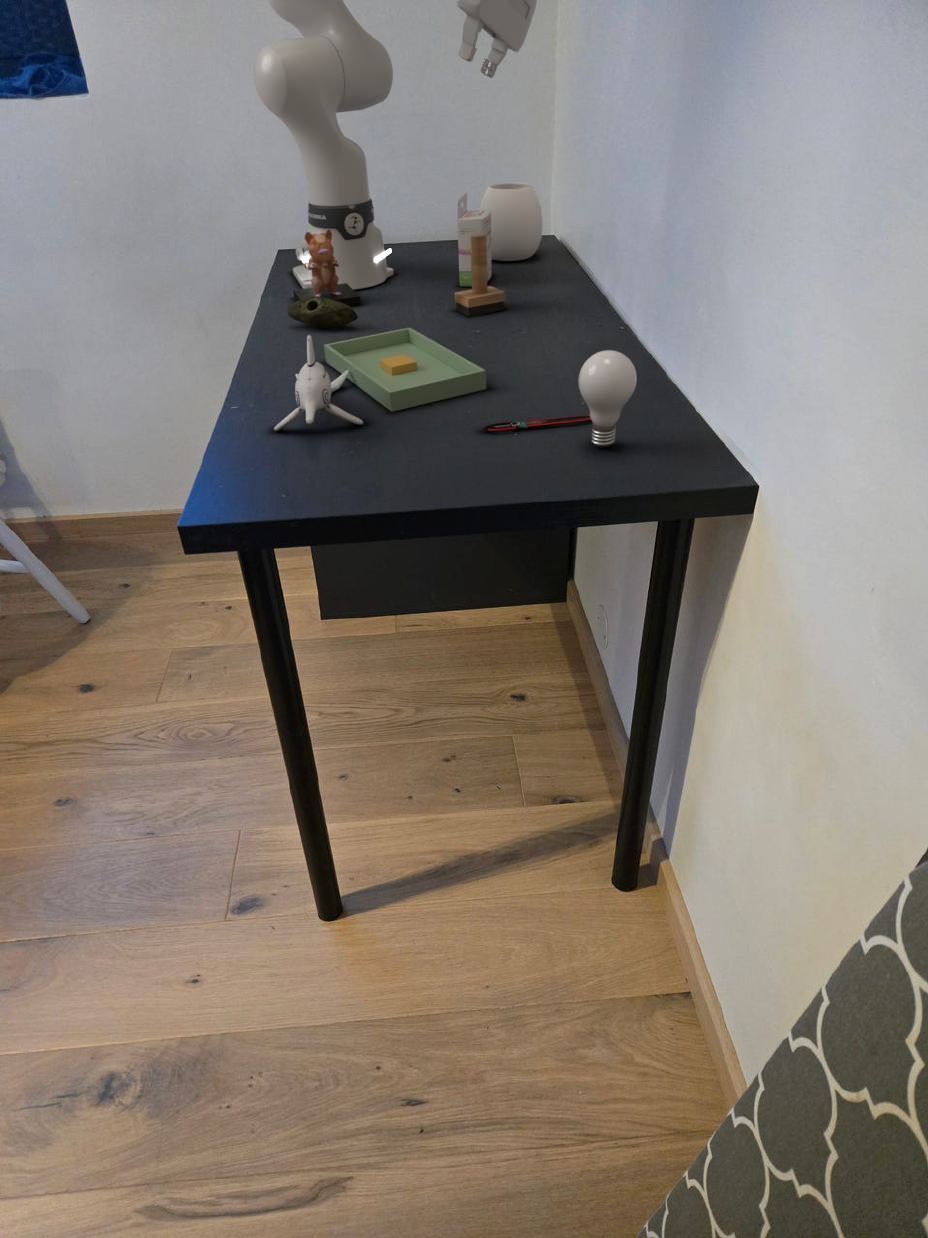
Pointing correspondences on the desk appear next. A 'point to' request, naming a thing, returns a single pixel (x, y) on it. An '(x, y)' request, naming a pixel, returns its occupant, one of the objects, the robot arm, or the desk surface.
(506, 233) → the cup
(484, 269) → the wooden peg on base
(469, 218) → the ink box
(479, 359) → the desk surface
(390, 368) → the orange block
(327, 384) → the dolphin figurine
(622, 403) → the lightbulb
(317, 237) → the figurine
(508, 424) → the pen
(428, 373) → the tray
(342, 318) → the decorative stone
